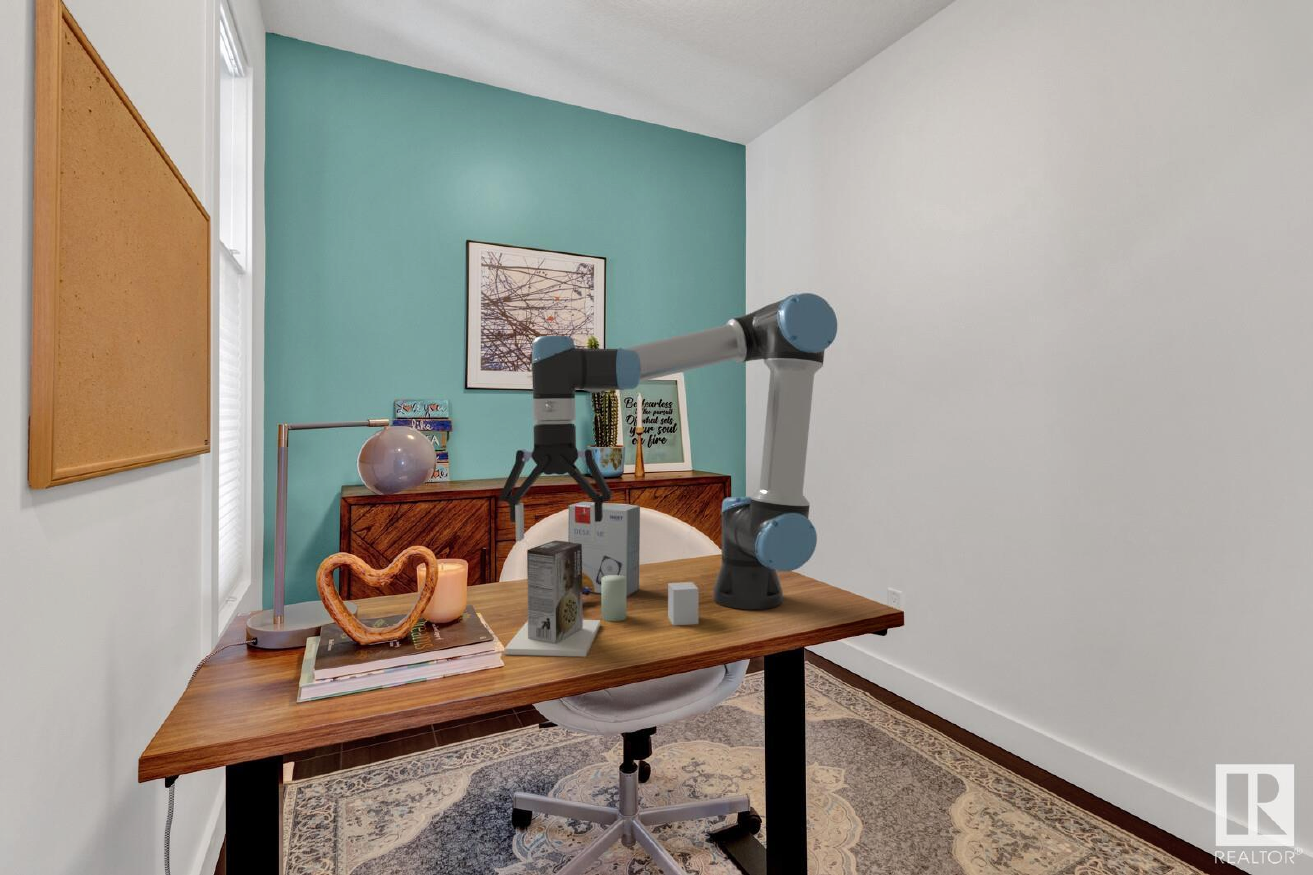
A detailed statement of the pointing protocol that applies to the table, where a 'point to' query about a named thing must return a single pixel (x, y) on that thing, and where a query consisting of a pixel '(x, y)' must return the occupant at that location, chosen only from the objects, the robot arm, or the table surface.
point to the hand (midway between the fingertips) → (556, 539)
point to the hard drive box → (607, 543)
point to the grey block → (683, 603)
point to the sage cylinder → (613, 598)
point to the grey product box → (554, 591)
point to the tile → (567, 647)
